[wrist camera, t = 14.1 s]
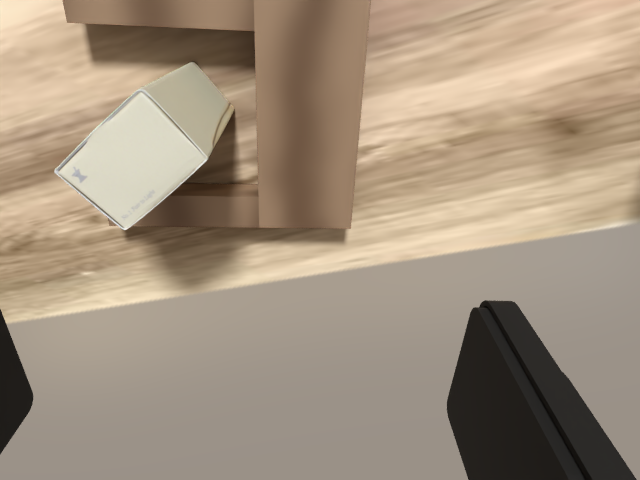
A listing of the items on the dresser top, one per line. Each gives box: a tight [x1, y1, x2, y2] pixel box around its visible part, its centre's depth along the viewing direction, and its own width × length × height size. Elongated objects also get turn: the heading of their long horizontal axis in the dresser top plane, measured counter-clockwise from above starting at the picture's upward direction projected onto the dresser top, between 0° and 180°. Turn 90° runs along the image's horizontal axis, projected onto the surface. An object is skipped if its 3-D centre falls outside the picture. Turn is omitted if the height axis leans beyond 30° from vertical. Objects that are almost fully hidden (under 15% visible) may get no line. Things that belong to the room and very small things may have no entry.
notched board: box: [63, 0, 371, 229], centre depth 30 cm, size 18×16×2 cm
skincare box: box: [54, 62, 235, 230], centre depth 26 cm, size 6×4×12 cm
